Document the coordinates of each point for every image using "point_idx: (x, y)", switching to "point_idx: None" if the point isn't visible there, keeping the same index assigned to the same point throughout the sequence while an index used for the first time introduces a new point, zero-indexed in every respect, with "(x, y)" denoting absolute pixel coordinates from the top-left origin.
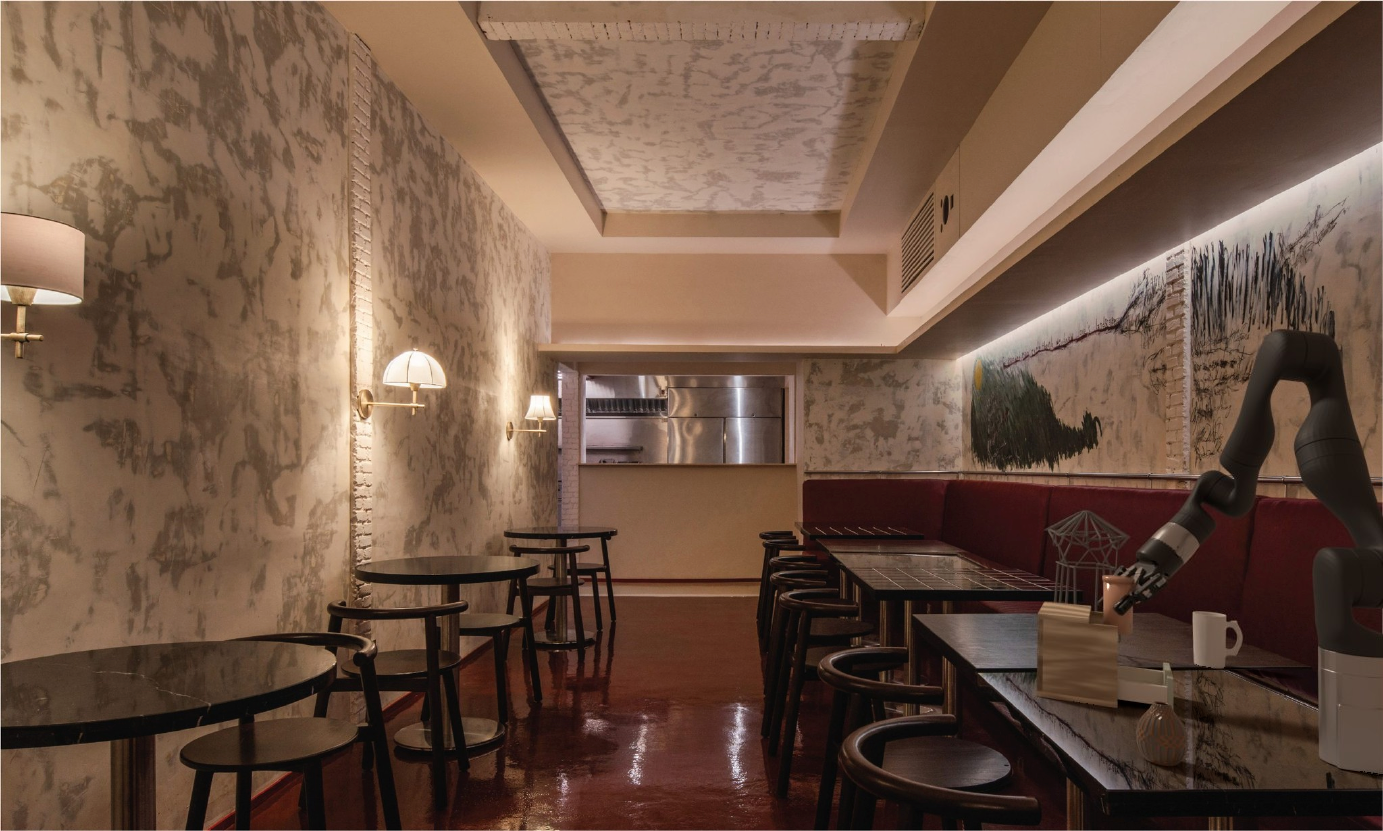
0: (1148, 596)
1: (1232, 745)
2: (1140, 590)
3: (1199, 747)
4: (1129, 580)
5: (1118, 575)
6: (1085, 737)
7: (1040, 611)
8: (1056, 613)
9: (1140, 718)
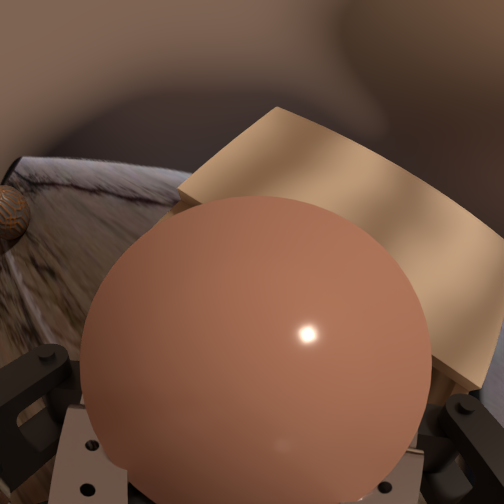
0: (40, 420)
1: (14, 357)
2: (23, 358)
3: (21, 305)
4: (85, 364)
5: (498, 501)
6: (88, 195)
7: (311, 123)
8: (277, 143)
9: (11, 188)
